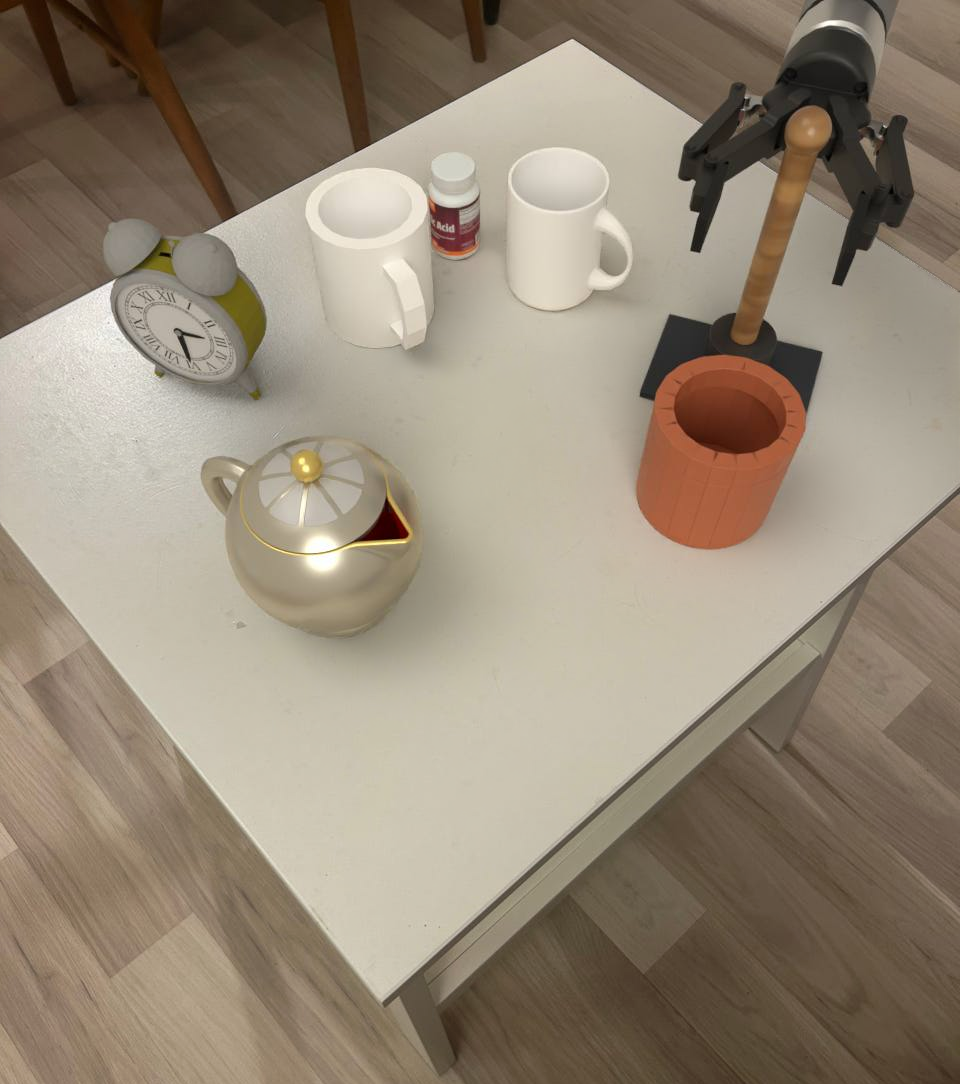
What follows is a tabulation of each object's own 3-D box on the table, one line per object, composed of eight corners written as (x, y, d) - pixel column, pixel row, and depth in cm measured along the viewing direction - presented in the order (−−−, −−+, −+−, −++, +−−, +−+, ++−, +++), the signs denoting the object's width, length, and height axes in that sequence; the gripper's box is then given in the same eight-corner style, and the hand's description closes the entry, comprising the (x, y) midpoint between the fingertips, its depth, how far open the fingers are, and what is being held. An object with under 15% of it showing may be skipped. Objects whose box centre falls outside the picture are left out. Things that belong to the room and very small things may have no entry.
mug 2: (602, 340, 84) (616, 240, 75) (488, 292, 87) (488, 190, 78) (645, 283, 87) (663, 180, 78) (534, 239, 91) (540, 134, 81)
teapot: (468, 565, 73) (462, 424, 58) (377, 705, 67) (346, 587, 53) (279, 478, 77) (230, 327, 63) (178, 603, 72) (99, 468, 57)
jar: (795, 520, 75) (836, 437, 66) (678, 568, 73) (704, 490, 64) (723, 426, 79) (752, 337, 70) (612, 469, 77) (628, 383, 68)
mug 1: (473, 343, 84) (471, 244, 75) (374, 388, 82) (359, 291, 72) (401, 255, 90) (391, 153, 80) (306, 295, 87) (284, 194, 78)
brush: (777, 382, 81) (876, 121, 60) (722, 403, 80) (803, 145, 59) (742, 339, 83) (825, 75, 62) (688, 359, 82) (755, 97, 61)
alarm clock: (141, 385, 82) (73, 241, 69) (175, 331, 85) (116, 183, 72) (262, 414, 80) (216, 272, 67) (292, 358, 83) (254, 212, 70)
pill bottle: (421, 244, 90) (415, 165, 83) (456, 221, 92) (453, 141, 84) (455, 268, 89) (451, 189, 81) (490, 244, 90) (490, 165, 83)
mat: (821, 356, 83) (823, 351, 82) (799, 438, 79) (801, 433, 78) (668, 318, 85) (669, 313, 85) (639, 396, 81) (640, 391, 80)
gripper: (947, 146, 77) (909, 331, 67) (685, 93, 81) (612, 260, 71) (990, 53, 70) (954, 243, 60) (702, -1, 74) (624, 170, 64)
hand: (769, 252), depth 66 cm, fingers open, 10 cm apart
